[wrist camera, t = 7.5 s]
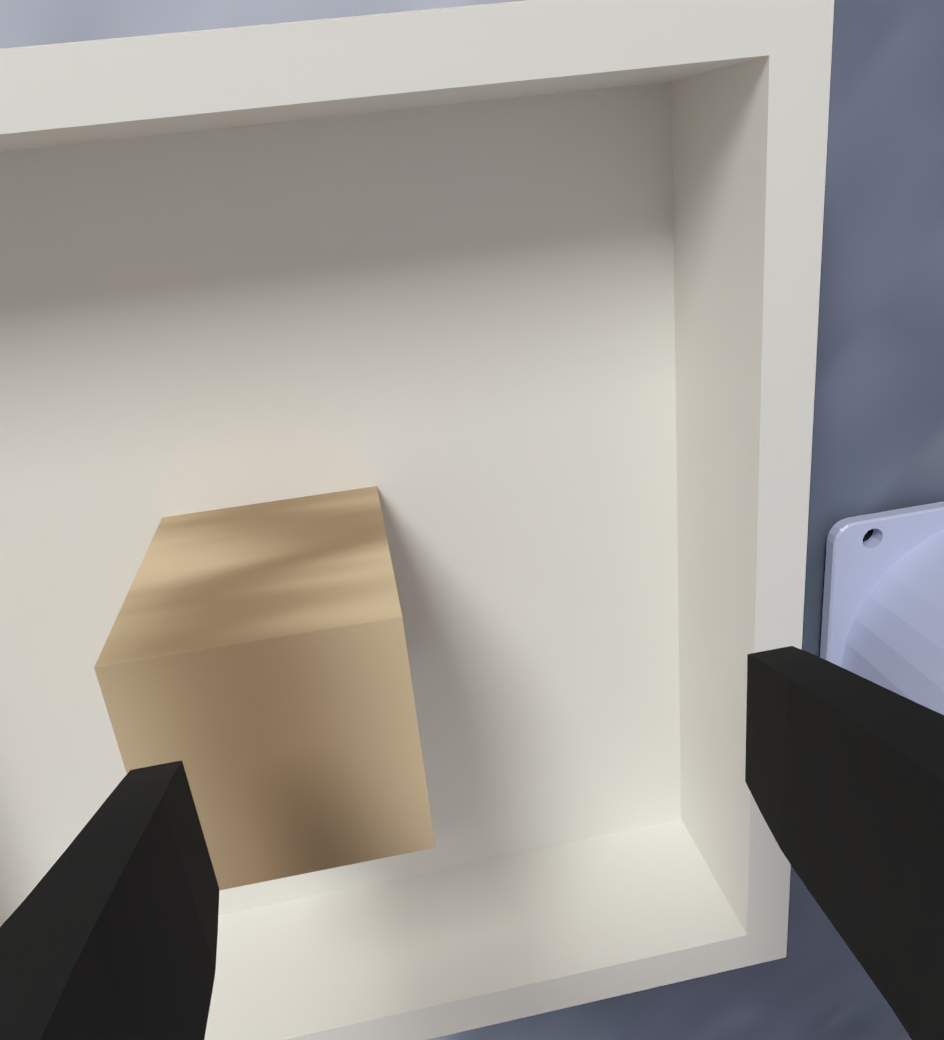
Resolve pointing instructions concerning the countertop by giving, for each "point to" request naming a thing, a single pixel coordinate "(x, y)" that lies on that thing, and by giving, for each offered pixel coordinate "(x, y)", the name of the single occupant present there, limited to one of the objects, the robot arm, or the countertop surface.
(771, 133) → the bin
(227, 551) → the maple block
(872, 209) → the countertop surface
